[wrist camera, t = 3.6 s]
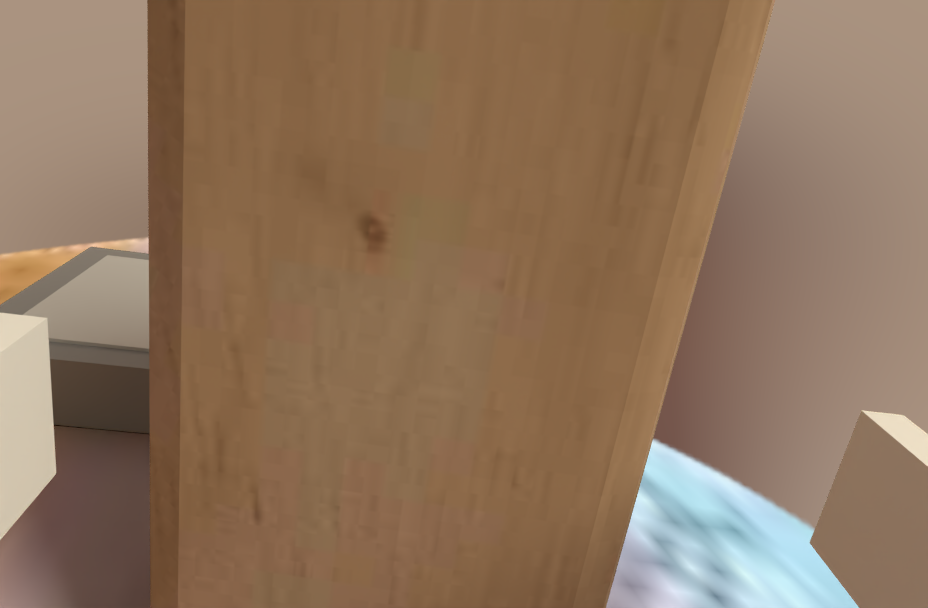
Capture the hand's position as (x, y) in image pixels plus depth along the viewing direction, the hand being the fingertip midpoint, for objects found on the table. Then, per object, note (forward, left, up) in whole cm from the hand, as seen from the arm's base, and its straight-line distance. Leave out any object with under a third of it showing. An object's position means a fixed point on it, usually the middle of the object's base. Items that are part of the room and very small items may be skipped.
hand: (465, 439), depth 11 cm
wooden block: (-1, +6, -11) cm, 13 cm away
